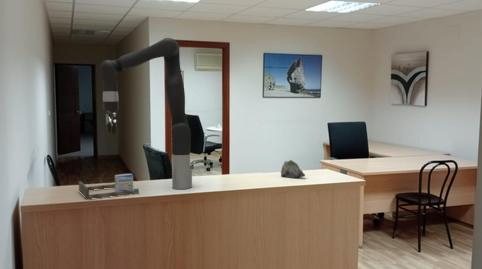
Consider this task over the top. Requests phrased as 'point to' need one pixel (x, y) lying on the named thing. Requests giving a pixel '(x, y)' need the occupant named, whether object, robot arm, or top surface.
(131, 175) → the medicine box
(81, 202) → the top surface
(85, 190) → the bay
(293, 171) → the mineral rock
